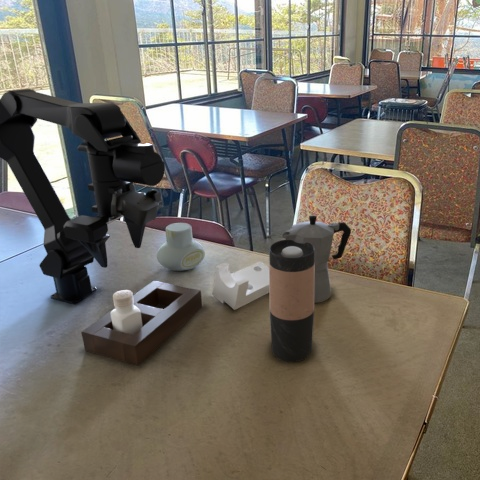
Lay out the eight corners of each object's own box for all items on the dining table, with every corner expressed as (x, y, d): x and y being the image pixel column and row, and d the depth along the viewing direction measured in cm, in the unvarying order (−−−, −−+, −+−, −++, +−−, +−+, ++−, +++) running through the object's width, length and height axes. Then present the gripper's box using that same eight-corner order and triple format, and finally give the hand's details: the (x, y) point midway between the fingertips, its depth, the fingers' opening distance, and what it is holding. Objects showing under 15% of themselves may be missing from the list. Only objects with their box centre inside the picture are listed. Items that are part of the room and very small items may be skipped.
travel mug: (280, 368, 81) (279, 261, 73) (264, 343, 87) (261, 243, 79) (320, 355, 84) (323, 253, 76) (301, 333, 91) (303, 235, 83)
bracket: (233, 313, 98) (238, 285, 94) (212, 294, 101) (216, 266, 97) (279, 290, 107) (285, 263, 103) (257, 273, 110) (263, 246, 106)
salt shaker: (133, 330, 90) (126, 286, 86) (145, 339, 88) (139, 293, 84) (113, 340, 87) (105, 294, 83) (125, 349, 85) (118, 302, 81)
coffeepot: (289, 309, 98) (290, 227, 91) (275, 288, 106) (274, 211, 99) (356, 296, 104) (362, 218, 97) (338, 276, 112) (342, 203, 105)
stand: (84, 350, 84) (81, 331, 82) (156, 297, 101) (154, 280, 100) (138, 365, 81) (135, 345, 79) (202, 307, 98) (200, 290, 96)
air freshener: (188, 253, 121) (185, 216, 117) (211, 262, 117) (208, 224, 113) (152, 268, 113) (147, 229, 109) (174, 279, 109) (170, 238, 105)
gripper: (109, 199, 75) (123, 287, 81) (179, 169, 91) (186, 245, 97) (53, 190, 78) (70, 275, 84) (130, 163, 94) (140, 236, 100)
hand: (121, 257), depth 91 cm, fingers open, 9 cm apart
